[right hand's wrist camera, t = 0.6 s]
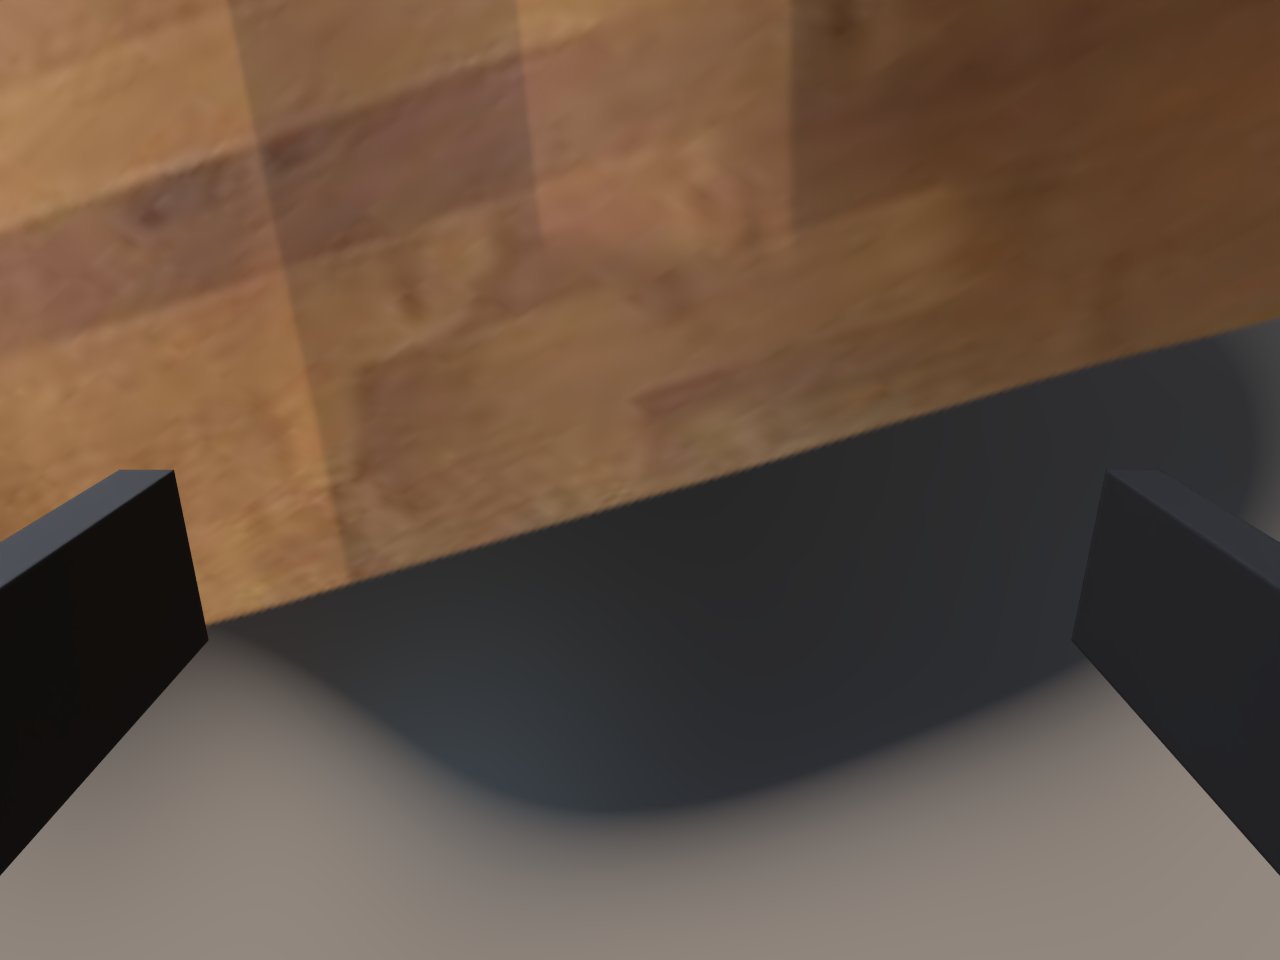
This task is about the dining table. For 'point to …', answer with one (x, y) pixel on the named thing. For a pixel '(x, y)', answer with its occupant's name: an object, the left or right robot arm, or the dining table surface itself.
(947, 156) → the dining table surface
